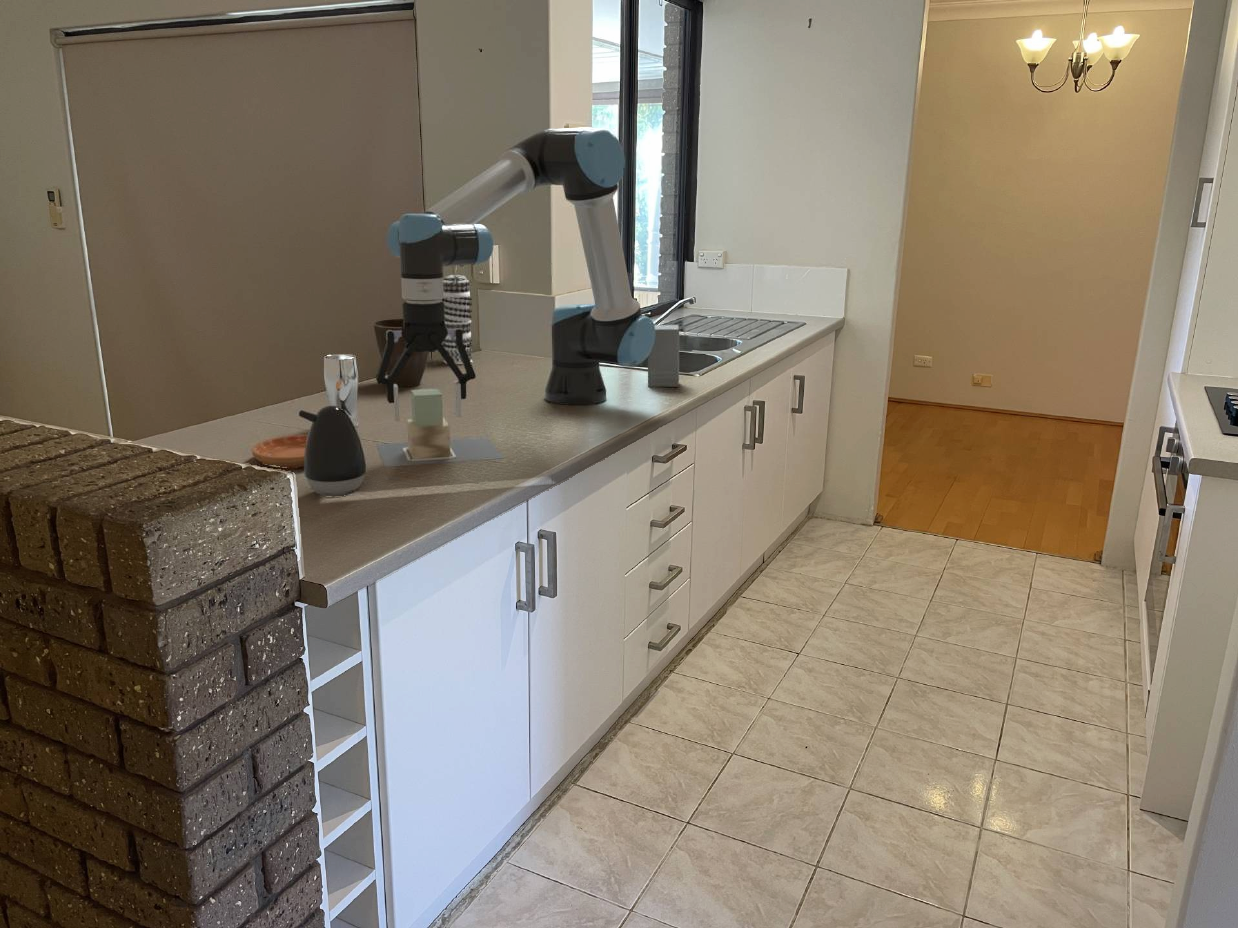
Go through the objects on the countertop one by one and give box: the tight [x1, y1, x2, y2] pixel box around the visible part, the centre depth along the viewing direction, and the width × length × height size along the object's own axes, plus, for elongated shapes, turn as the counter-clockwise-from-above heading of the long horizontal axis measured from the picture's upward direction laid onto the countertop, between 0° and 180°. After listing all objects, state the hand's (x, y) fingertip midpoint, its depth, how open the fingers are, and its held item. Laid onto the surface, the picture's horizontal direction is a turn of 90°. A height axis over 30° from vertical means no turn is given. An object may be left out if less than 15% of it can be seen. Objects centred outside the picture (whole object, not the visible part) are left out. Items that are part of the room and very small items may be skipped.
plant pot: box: [373, 318, 430, 387], centre depth 246 cm, size 15×15×16 cm
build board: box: [376, 436, 504, 468], centre depth 184 cm, size 22×16×1 cm
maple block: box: [406, 417, 451, 459], centre depth 181 cm, size 7×7×6 cm
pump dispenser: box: [298, 405, 367, 498], centre depth 160 cm, size 10×10×15 cm
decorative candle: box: [441, 274, 474, 365], centre depth 275 cm, size 9×9×25 cm
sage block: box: [410, 388, 444, 427], centre depth 179 cm, size 5×5×6 cm
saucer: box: [251, 434, 308, 469], centre depth 181 cm, size 16×16×3 cm
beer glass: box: [323, 353, 360, 428], centre depth 204 cm, size 7×7×15 cm
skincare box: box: [647, 324, 680, 388], centre depth 250 cm, size 8×7×16 cm
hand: (427, 417), depth 180 cm, fingers open, 11 cm apart
